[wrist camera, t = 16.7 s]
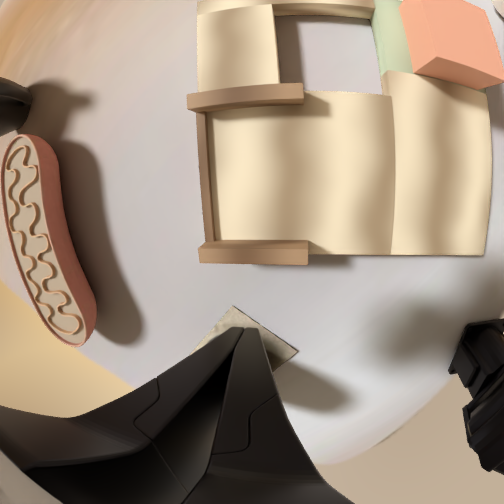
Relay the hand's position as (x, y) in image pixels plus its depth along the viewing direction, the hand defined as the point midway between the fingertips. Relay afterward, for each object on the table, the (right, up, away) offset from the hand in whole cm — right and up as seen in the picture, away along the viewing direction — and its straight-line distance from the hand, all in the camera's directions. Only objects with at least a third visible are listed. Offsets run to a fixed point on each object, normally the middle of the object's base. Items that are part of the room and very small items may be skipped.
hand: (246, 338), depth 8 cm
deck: (+8, +13, +8) cm, 17 cm away
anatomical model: (-21, +5, +17) cm, 27 cm away
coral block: (+14, +18, +3) cm, 23 cm away
